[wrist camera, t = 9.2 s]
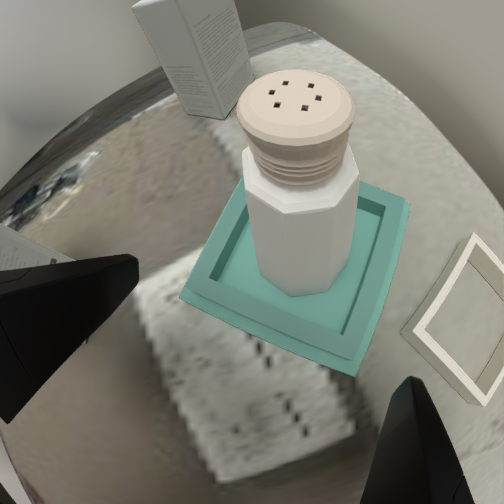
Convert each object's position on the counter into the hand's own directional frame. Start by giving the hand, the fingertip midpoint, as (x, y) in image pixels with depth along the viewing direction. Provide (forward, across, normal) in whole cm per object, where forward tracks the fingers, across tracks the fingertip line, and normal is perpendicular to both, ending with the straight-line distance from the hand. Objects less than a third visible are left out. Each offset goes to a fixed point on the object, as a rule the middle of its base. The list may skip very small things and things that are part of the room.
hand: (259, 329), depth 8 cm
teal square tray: (+9, +1, +2) cm, 10 cm away
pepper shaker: (+9, +1, +2) cm, 9 cm away
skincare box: (+17, +12, -6) cm, 22 cm away
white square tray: (+9, -11, +2) cm, 15 cm away
